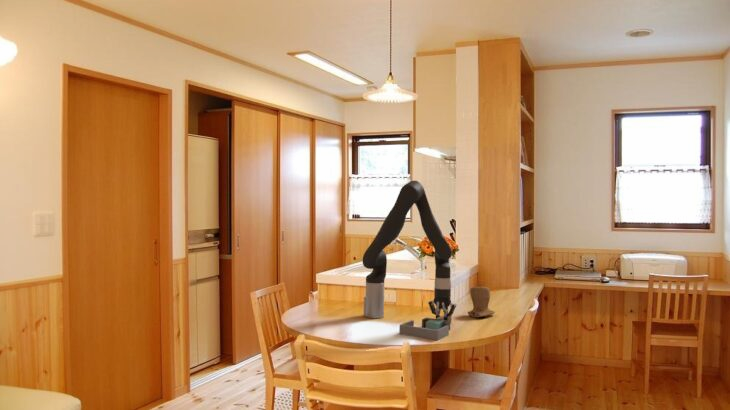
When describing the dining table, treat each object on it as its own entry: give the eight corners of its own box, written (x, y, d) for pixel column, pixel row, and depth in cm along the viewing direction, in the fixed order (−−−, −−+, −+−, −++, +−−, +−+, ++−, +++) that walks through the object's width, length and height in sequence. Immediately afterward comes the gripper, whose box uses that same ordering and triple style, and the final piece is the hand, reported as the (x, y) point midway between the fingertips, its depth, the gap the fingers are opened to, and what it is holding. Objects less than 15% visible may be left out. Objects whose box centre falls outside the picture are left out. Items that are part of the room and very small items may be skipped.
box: (399, 333, 251) (399, 324, 251) (411, 328, 260) (411, 320, 260) (437, 340, 241) (437, 330, 241) (448, 334, 250) (448, 325, 250)
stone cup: (478, 311, 301) (479, 283, 300) (498, 315, 292) (498, 286, 292) (461, 315, 290) (461, 286, 290) (480, 319, 282) (481, 289, 281)
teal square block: (425, 330, 258) (425, 321, 258) (431, 328, 263) (431, 319, 263) (437, 332, 255) (438, 323, 255) (443, 330, 260) (443, 321, 260)
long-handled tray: (421, 328, 262) (422, 319, 262) (436, 321, 276) (437, 313, 276) (446, 331, 256) (446, 322, 256) (460, 324, 270) (460, 316, 270)
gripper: (425, 286, 267) (424, 323, 267) (453, 289, 259) (452, 327, 260) (432, 284, 273) (431, 320, 273) (459, 287, 266) (459, 324, 266)
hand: (441, 323), depth 266 cm, fingers closed on long-handled tray, 3 cm apart
